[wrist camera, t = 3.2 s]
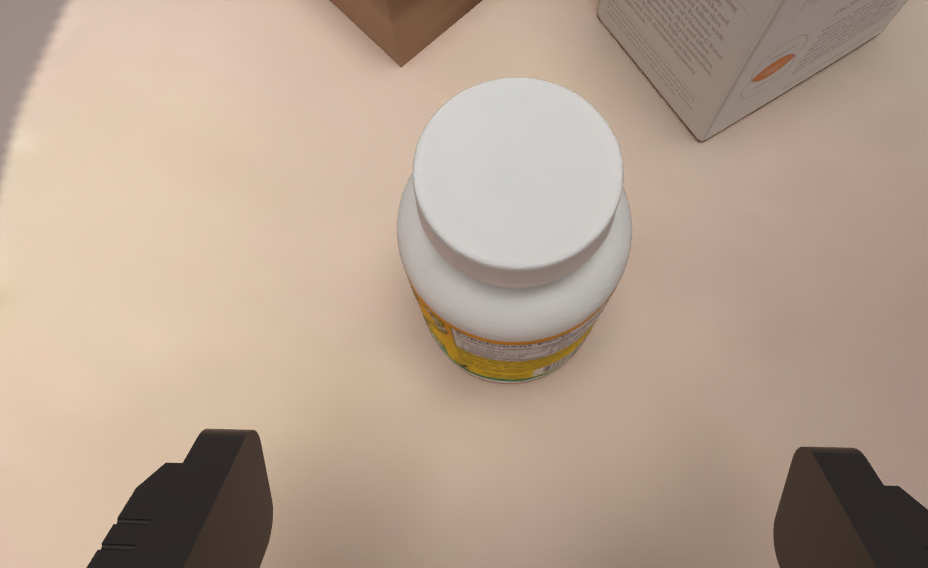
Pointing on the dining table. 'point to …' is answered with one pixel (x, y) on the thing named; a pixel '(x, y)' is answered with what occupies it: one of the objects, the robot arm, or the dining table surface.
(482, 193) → the supplement bottle
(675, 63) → the small box
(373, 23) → the walnut cube
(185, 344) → the dining table surface
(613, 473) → the dining table surface
